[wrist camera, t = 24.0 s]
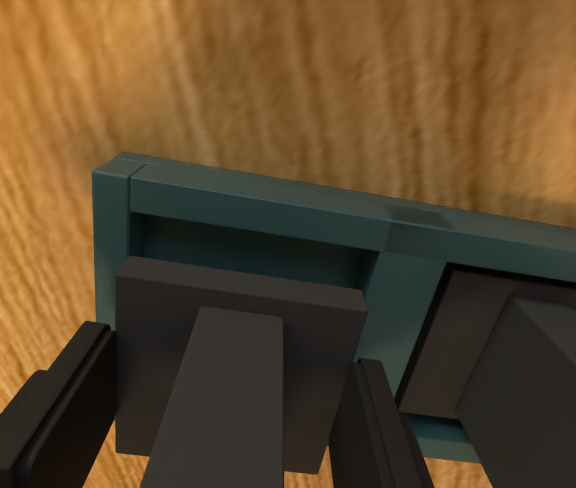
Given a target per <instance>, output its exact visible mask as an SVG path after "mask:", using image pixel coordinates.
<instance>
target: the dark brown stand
mask: <svg viewBox="0 0 576 488" xmlns="http://www.w3.org/2000/svg"><path fill="white" fill-rule="evenodd" d="M394 401H395V404H396V407H397V410H398V412H404V413H412V414H420V415H428V416H436V417H444V418H452V419H459V420H460V421H461V423H462V425H463V427H464V429H465V431H466V433H467V435H468V438H469V440H470V442H471V444H472V446H473V448H474V450H475V452H476V454H477V456H478V458H479V460H480V462H481V464H482V466H483V468H484V470H485V473H486V475H487V477H488V479H489V481H490V483H491V485H492V487H493V488H576V282H569V281H563V280H557V279H550V278H544V277H538V276H532V275H525V274H519V273H513V272H506V271H500V270H494V269H488V268H481V267H475V266H469V265H462V264H456V263H450V262H447V263H446V265H445V268H444V270H443V273H442V276H441V278H440V281H439V283H438V286H437V289H436V291H435V294H434V296H433V299H432V302H431V304H430V307H429V309H428V312H427V314H426V317H425V320H424V322H423V325H422V327H421V330H420V333H419V335H418V338H417V340H416V343H415V346H414V348H413V351H412V353H411V356H410V358H409V361H408V364H407V366H406V369H405V371H404V374H403V377H402V379H401V382H400V384H399V387H398V390H397V392H396V395H395V397H394Z"/></svg>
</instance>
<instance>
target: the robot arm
mask: <svg viewBox="0 0 576 488" xmlns="http://www.w3.org/2000/svg"><path fill="white" fill-rule="evenodd" d="M115 415H116V331H114V330H111V327H110V325H109V324H105V323H98V322H90V321H86V322H84V323H83V324H82V325H81V327H80V328H79V329H78V331H77V332H76V333H75V335H74V336H73V337H72V339H71V340H70V341H69V343H68V344H67V345H66V347H65V348H64V349H63V350H62V352H61V353H60V354H59V356H58V357H57V358H56V360H55V361H54V362H53V364H52V365H51V366H50V368H49V369H48V370H47V371H46V370H38V371H36V372H34V374H33V375H32V376H31V377H30V378H29V379H28V380H27V381H26V383H25V384H24V385H23V386H22V388H21V389H20V390H19V392H18V393H17V394H16V395H15V397H14V398H13V399H12V400H11V402H10V403H9V404H8V405H7V407H6V408H5V409H4V410H3V412H2V413H1V414H0V488H82V487H83V485H84V483H85V481H86V479H87V476H88V474H89V472H90V470H91V468H92V466H93V464H94V462H95V459H96V457H97V455H98V453H99V451H100V449H101V447H102V444H103V442H104V440H105V438H106V436H107V434H108V432H109V430H110V427H111V425H112V423H113V421H114V418H115ZM329 452H330V461H331V469H332V478H333V486H334V488H434V485H433V483H432V480H431V477H430V474H429V471H428V468H427V466H426V463H425V460H424V457H423V454H422V452H421V449H420V446H419V443H418V440H417V437H416V435H415V432H414V429H413V426H412V423H411V421H410V419H409V417H408V416H407V415H404V414H399V413H398V410H397V407H396V404H395V401H394V397H393V394H392V391H391V388H390V385H389V382H388V379H387V376H386V373H385V370H384V367H383V364H382V362H381V361H380V360H374V359H367V358H359V359H358V361H357V363H356V362H352V363H351V366H350V370H349V373H348V376H347V379H346V382H345V386H344V389H343V392H342V395H341V399H340V402H339V405H338V408H337V412H336V415H335V418H334V421H333V424H332V428H331V431H330V434H329Z"/></svg>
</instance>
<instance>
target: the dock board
mask: <svg viewBox="0 0 576 488" xmlns="http://www.w3.org/2000/svg"><path fill="white" fill-rule="evenodd" d="M92 199H93V233H94V267H95V302H96V322H98V323H105V324H109V325H110V327H111V330H114V331H115V274H116V273H117V271H118V270H119V269H120V268H121V266H122V265H123V264H124V262H125V261H126V260H127V259H128V257H129V256H136V257H143V258H150V259H156V260H163V261H170V262H176V263H183V264H190V265H197V266H203V267H210V268H217V269H223V270H230V271H237V272H244V273H250V274H257V275H264V276H270V277H277V278H284V279H291V280H297V281H304V282H311V283H317V284H324V285H331V286H338V287H344V288H351V289H358V290H361V291H362V293H363V296H364V299H365V302H366V305H367V308H368V311H369V312H368V315H367V318H366V321H365V325H364V328H363V331H362V334H361V337H360V341H359V344H358V347H357V350H356V353H355V357H354V360H353V362H356V363H357V361H358V359H359V358H367V359H374V360H380V361H381V362H382V364H383V367H384V370H385V373H386V376H387V379H388V382H389V385H390V388H391V391H392V394H393V397H395V395H396V392H397V390H398V387H399V384H400V382H401V379H402V377H403V374H404V371H405V369H406V366H407V364H408V361H409V358H410V356H411V353H412V351H413V348H414V346H415V343H416V340H417V338H418V335H419V333H420V330H421V327H422V325H423V322H424V320H425V317H426V314H427V312H428V309H429V307H430V304H431V302H432V299H433V296H434V294H435V291H436V289H437V286H438V283H439V281H440V278H441V276H442V273H443V270H444V268H445V265H446V263H447V262H450V263H456V264H462V265H469V266H475V267H481V268H488V269H494V270H500V271H506V272H513V273H519V274H525V275H532V276H538V277H544V278H550V279H557V280H563V281H569V282H576V229H573V228H567V227H561V226H555V225H550V224H544V223H538V222H532V221H526V220H520V219H514V218H508V217H503V216H497V215H491V214H485V213H479V212H473V211H467V210H462V209H456V208H450V207H444V206H438V205H432V204H426V203H421V202H415V201H409V200H403V199H397V198H391V197H385V196H380V195H374V194H368V193H362V192H356V191H350V190H344V189H338V188H333V187H327V186H321V185H315V184H309V183H303V182H297V181H292V180H286V179H280V178H274V177H268V176H262V175H256V174H251V173H245V172H239V171H233V170H227V169H221V168H215V167H209V166H204V165H198V164H192V163H186V162H180V161H174V160H168V159H163V158H157V157H151V156H145V155H139V154H133V153H127V152H122V153H121V154H119V155H117V156H115V157H114V159H112V160H110V161H108V162H106V163H105V164H103V165H101V166H99V167H98V168H96V169H94V170H93V171H92ZM398 413H399V414H404V415H407V416H408V417H409V419H410V421H411V423H412V426H413V429H414V432H415V435H416V437H417V440H418V443H419V446H420V449H421V452H422V454H423V457H428V458H437V459H445V460H454V461H462V462H471V463H480V464H481V462H480V460H479V458H478V456H477V454H476V452H475V450H474V448H473V446H472V444H471V442H470V440H469V438H468V435H467V433H466V431H465V429H464V427H463V425H462V423H461V421H460V420H459V419H452V418H444V417H436V416H428V415H420V414H412V413H404V412H398ZM114 420H115V418H114ZM327 446H329V440H328V443H327Z"/></svg>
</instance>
